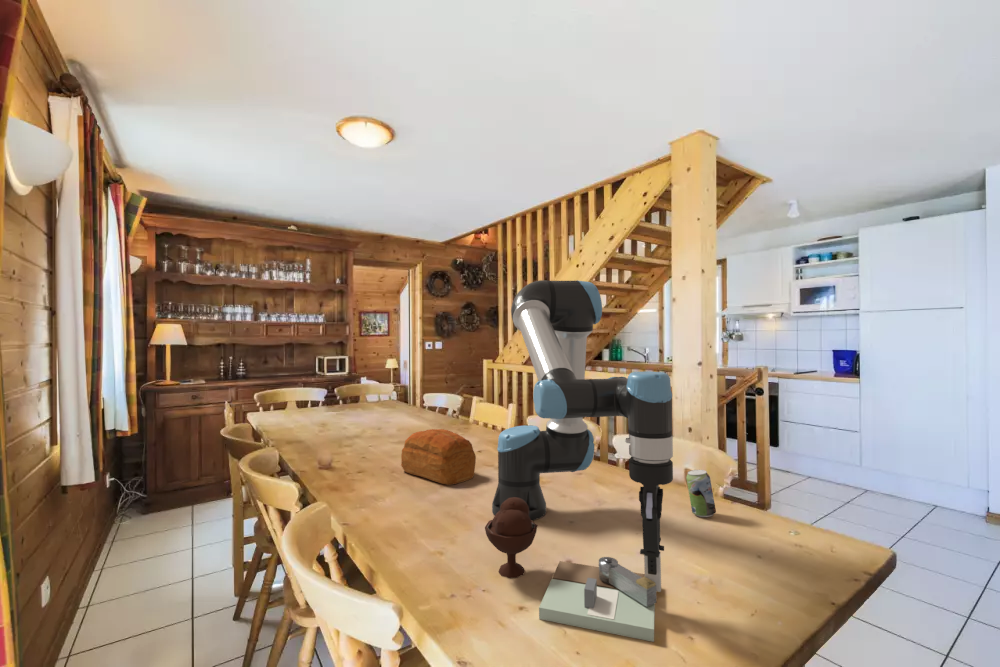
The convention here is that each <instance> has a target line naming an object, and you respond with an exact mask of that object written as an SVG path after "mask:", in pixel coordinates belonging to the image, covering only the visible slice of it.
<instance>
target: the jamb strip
mask: <svg viewBox="0 0 1000 667" xmlns="http://www.w3.org/2000/svg"><path fill="white" fill-rule="evenodd" d="M632 572H633V571H632ZM633 573H635V574H637V575H639V576H640V577H645V573H639V572H633ZM587 578H593V579H597V587H603V588H609V589H615V590H619V589H618V588H616V587H615V586H613V585H611V584H610V583H607V582H603V581H601V580H600V579H599V566H594V565H588V564H582V563H576V562H575V563H574V562H568V561H563V560H559V562H558V563H557V566H556V568H555V571H554V573H553V575H552V578H551V579H556V580H562V581H568V582H574V583H580V584H586V582H587Z"/></svg>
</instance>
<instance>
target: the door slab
mask: <svg viewBox="0 0 1000 667" xmlns="http://www.w3.org/2000/svg"><path fill="white" fill-rule="evenodd" d="M655 605H656V603H655V604H653V605H650V606H648V607H646V606H645V605H643V604H642V603H640V602H638V601H637V600H635V599H634V598H632V597H630V596H629V595H627V594H626V593H624V592H623V591H621V590H615V589H609V588H603V587H597V579H593V578H587V582H586V584H580V583H574V582H568V581H562V580H556V579H552V578H551V579H550V582H549V583H548V586H547V589H546V591H545V593H544V596H543V597H542V600H541V602H540V604H539V607H538V619H539V620H542V621H547V622H551V623H552V622H553V623H557V624H562V625H567V626H572V627H577V628H583V629H588V630H593V631H598V632H603V633H608V634H613V635H619V636H621V637H622V636H623V637H628V638H633V639H636V640H637V639H638V640H643V641H647V642H653V643H654V642H655V611H656V608H655V607H656V606H655Z"/></svg>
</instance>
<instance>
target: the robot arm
mask: <svg viewBox="0 0 1000 667" xmlns="http://www.w3.org/2000/svg"><path fill="white" fill-rule="evenodd" d="M510 307H511V309H510V313H511V319H512V322H513V325H514V327H515V328H516V329H517V330H518V331H519V332H520V333H521V335H522V339H523V341H524V344H525V347H526V349H527V351H528V355H529V358H530V360H531V361H530V362H531V364H532V367H533V369H534V372H535V375H536V378H537V381H536V383H535V384H534V387H533V392H532V393H533V394H532V395H533V397H532V398H533V406H534V411H535V413H536V415H537V417H539V418H541V419H549V420H548V421H547V422H546V424H545V425H546V428H545V430H540V428H539V427H538V426H537V425H525V424H524V425H516V426H512V427H509V428H506V429H504V430H502V431H501V432H500V433H499V435H498V440H497V448H496V449H497V459H498V460H497V466H498V467H497V468H498V469H497V470H498V471H497V472H498V473H497V475H498V477H497V478H498V479H497V480H498V482H497V487H496V490H495V494H494V496H493V500H492V505H491V511H492V515H493V516H495V515H496V513H498V512H499V511H500V506H501V505H502V503H503V502H504V501H505V500H507V499H508V498H512V497H517V498H521V499H523V500H524V501H525V502H526V503H527V505H528V506H529V517H530V519H531V520H532V521H536V520H539V519H541V518H543V517H545V515H547V503H546V499H545V496H544V493H543V489H542V486H541V483H540V478H541V477H540V475H541V474H551V473H552V474H554V473H567V472H568V473H570V472H571V473H575V472H578V471H585V470H587V469H588V468H589V467H591V464H592V463H593V460H594V455H595V443H594V441H595V438H594V435H593V433H592V431H591V430H590V429H588V427H589V426H588V425H587V423H586V422H585V421H584V420H583V418H603V417H605V418H607V417H608V418H609V417H624V418H626V419H627V425H628V429H627V431H628V432H627V433H628V437H626V438H625V439H624V442H625V443H626V444H629V445H628V453H629V456H630V457H629V459H628V476H629V479H630V480H632V481H633V482H635V483H638V484H641V485H642V486H640V488H639V492H638V501H639V503H640V516H641V522H642V527H641V528H642V545H643V548H640V551H639V553H640V555H643V556H644V557H643V560H644V562H643V563H644V566H643V568H644V574H645V577H646V578H648V579H650V580H652V581H653V582H655V585H656V592H658V593H661V592H662V572H661V571H662V569H661V567H662V566H661V565H662V564H661V561H662V560H661V559H662V558H661V552H662V551H663V552H664V551H665V546H664V545H661V541H662V537H661V519H662V511H663V501H664V500H663V498H664V488H661V487H660V486H661V485H662V486H666V485H668V484H670V483H671V482H673V480H674V466H673V465H674V464H673V461H672V458H673V457H674V453H673V452H674V447H673V446H674V445H673V443H674V442H673V439H674V438H673V437H674V436H673V392H672V387H671V386H672V385H671V377H670V375H669V374H667V373H666V372H661V371H649V370H648V371H633V372H630V373H629V374H628V376H627V377H625V376H611V377H608V378H594V379H592V378H586V377H585V376H586V361H587V360H586V357H587V338H588V336H589V335H591V333H593V331H594V325H596V324H599V322H600V321H601V318H602V315H603V303H602V298H601V294H600V291H599V289H598V287H597V286H596V284H595V283H593V282H590V281H585V280H579V279H577V280H542V279H540V280H535V281H533V282H530V283H528V284H526V285H525V286H524V287H522V288H521V289H520V290H519V291H518V292H517V293H516V295H515V297H514V299H513V301H512V304H511V306H510Z"/></svg>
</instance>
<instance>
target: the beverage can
mask: <svg viewBox="0 0 1000 667" xmlns="http://www.w3.org/2000/svg"><path fill="white" fill-rule="evenodd" d="M685 479H686V484H687V490H688V495H689V496H688V497H689V501H690V507H691V511H692V514H694V515H695V516H697V517H700V518H710V517H713V516H714V515H715V514H716V512H717V510H716V509H717V508H716V504H715V498H714V492H713V488H712V481H711V477H710V475H709V474H708V471H706V470H704V469H693V470H689V471H687V474H686V478H685Z"/></svg>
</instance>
